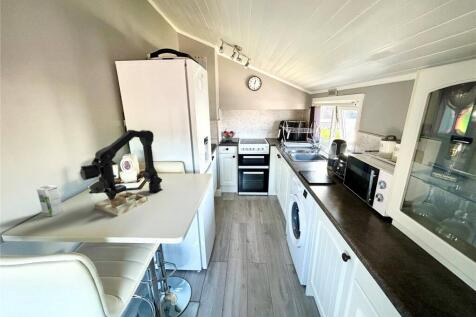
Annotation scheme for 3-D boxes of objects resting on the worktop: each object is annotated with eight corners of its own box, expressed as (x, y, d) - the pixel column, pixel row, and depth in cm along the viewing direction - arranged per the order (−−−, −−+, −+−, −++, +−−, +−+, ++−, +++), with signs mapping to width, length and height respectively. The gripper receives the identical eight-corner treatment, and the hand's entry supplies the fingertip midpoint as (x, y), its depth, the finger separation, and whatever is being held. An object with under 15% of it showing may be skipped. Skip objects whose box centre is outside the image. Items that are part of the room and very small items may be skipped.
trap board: (126, 194, 119) (125, 188, 118) (148, 200, 111) (147, 193, 110) (95, 208, 103) (93, 200, 102) (118, 216, 95) (116, 207, 94)
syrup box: (42, 215, 96) (35, 188, 92) (56, 209, 102) (49, 184, 98) (51, 216, 95) (43, 190, 91) (64, 210, 100) (57, 185, 97)
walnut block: (120, 203, 103) (119, 196, 102) (127, 205, 101) (125, 198, 100) (111, 207, 99) (110, 200, 98) (117, 209, 97) (116, 202, 96)
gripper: (78, 176, 95) (85, 204, 99) (102, 182, 88) (108, 212, 92) (101, 170, 105) (106, 196, 109) (125, 175, 98) (129, 202, 102)
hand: (112, 201), depth 103 cm, fingers closed
